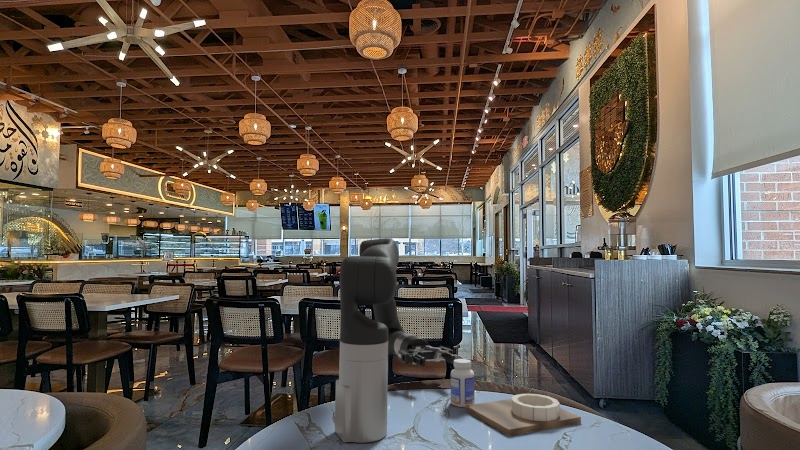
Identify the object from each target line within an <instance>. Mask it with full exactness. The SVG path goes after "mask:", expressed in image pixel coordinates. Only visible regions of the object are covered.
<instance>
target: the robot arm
mask: <svg viewBox="0 0 800 450" xmlns="http://www.w3.org/2000/svg"><path fill="white" fill-rule="evenodd" d="M358 252H359V255H358V256H357V255H356V256H346V257H344V258H343V259H342V261H341V264H340V268H339V270H340V271H339V299H340V303H339V304H340V320H339V321H340V322H339V323H340V327H339V328H340V329H339V331H340V332H339V361H338V362H339V364H338V365H339V367H338V369H339V370H338V379H336V380H335V397H334V398H335V399H334V400H335V402H334V405H335V406H334V407H335V409H334V432H335V433H336V435H337V436H338V437H339V439H340V440H341V441H342V442H343V443H358V444H359V443H362V444H364V443H372V442H377V441H379V440H382V439H383V438H385V437H386V436H387V433H388V385H389V384H388V379H389V377H388V376H389V355H396V356H397V357H398V358H397V359H398V361H400V362H401V363H403V364H405V365H410V364H411V365H413V366H420V367H421V368H424V367H425V366H426V362H431V361H432V362H440V361H443V362H446V363H449V364H453V365H454V360H455V359H456V355H454V350H453V349H451V348H449V347H445V346H443V345H440V346H438V347H434V346H431V345H430V344H429V342H428V341H427V340H426V339H424V338H422V337H419V336H418V335H414V334H412V333H407V332H405V330H404V328H403V326H402V325H401V322H400V319H399V317H398V311H397V310H398V309H397V303H396V300H395V298H394V296H395V294H396V290H397V283H398V280H397V278H398V276H397V267H398V264H399V257H400V255H399V254H400V253H399V248H398V245H397V242H395V240H394V239H393V238H391V237H384V238H383V237H382V238H373V239H367V240H363V241H361V242H360V244H359V251H358ZM358 305H372V309H373V315H374V319H371V318H370V317H368V316H366V315H365V314H363V313H362V312H361V311H360V310H359V308H358Z"/></svg>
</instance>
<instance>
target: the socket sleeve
mask: <svg viewBox="0 0 800 450" xmlns="http://www.w3.org/2000/svg"><path fill="white" fill-rule="evenodd" d="M510 399H511V409H512V412H513V414H515V415H517V416H519V417H522V418H525V419H529V420H534V421H550V420H556V419H557V418H558V417H559V416H560V408H561V404H560V402H559V400H558V399H556V398H554V397H552V396H548V395H544V394H539V393H538V394H537V393H520V394H519V393H518V394H514V395H513V396H512V397H511V398H510Z"/></svg>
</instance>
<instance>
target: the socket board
mask: <svg viewBox="0 0 800 450" xmlns="http://www.w3.org/2000/svg"><path fill="white" fill-rule="evenodd" d="M465 412H467V413H468V414H470V415H472V416H474V417H475V418H476V419H479V420H480V421H482V422H484V423H486V424H487V425H489V426H490V427H492V428H494V429H496V430H498V431H499V432H501V433H503V434H505V435H506V436H508V437H513V436H517V435H522V434H528V433H534V432H539V431H545V430H550V429H555V428H562V427H567V426H573V425H578V424H581V423H582V417H581V416H579V415H577V414H575V413H573V412H570V411H569V410H568V411H567V410H565V409H563V408H561V407H560V416H559V417H558V418H557V419H556V420H550V421H534V420H529V419H525V418H522V417H519V416H517V415H515V414H513V412H512V409H511V398H508V399H507V398H506V399H503V400H502V399H501V400H493V401H487V402H480V403H474V404H472V405H466V407H465Z"/></svg>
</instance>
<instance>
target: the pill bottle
mask: <svg viewBox="0 0 800 450" xmlns="http://www.w3.org/2000/svg"><path fill="white" fill-rule="evenodd" d="M453 368H454V369H452V370H451V371H450V403H451V405H453V406H454V405H455V407H459V408H466V405H472V404H475V402H476V401H475V373H474V371H473V369H471V368H472V361H471V360H470V359H467V358H455V360H454V363H453Z"/></svg>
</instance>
